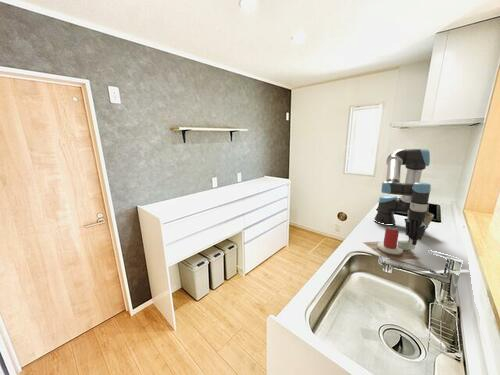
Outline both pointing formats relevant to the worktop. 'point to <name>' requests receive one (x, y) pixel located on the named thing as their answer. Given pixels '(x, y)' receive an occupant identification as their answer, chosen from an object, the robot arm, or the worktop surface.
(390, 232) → the beer can
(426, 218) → the plant pot
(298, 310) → the worktop surface
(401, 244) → the white oval dish
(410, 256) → the board
